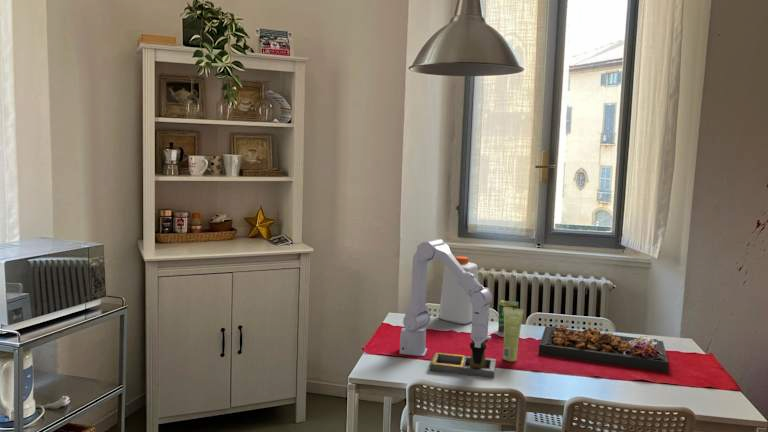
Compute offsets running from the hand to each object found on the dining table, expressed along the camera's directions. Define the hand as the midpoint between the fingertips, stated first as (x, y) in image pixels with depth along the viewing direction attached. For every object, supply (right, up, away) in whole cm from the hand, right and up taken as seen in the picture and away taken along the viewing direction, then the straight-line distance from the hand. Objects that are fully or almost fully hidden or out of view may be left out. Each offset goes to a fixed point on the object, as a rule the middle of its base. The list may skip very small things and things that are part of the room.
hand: (477, 360), depth 218 cm
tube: (+14, -3, +12) cm, 18 cm away
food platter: (+51, -3, +23) cm, 56 cm away
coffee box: (+19, +2, +44) cm, 48 cm away
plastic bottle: (0, +5, +60) cm, 60 cm away
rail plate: (-5, -3, +2) cm, 6 cm away
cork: (0, -4, 0) cm, 4 cm away
